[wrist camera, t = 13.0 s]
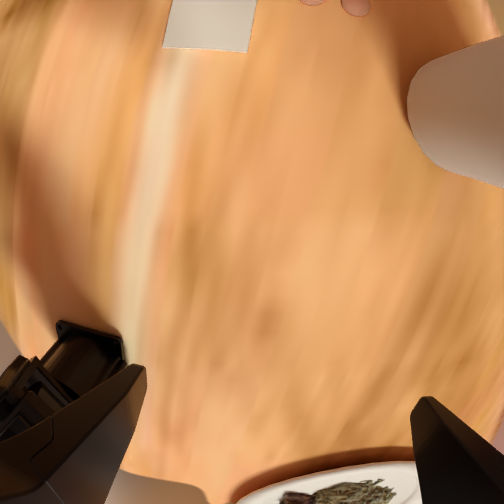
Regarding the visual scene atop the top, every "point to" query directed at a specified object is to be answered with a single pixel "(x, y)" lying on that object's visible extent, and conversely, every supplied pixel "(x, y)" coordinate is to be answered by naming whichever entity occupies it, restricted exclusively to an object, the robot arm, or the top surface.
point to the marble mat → (224, 23)
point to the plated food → (346, 486)
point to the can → (462, 111)
